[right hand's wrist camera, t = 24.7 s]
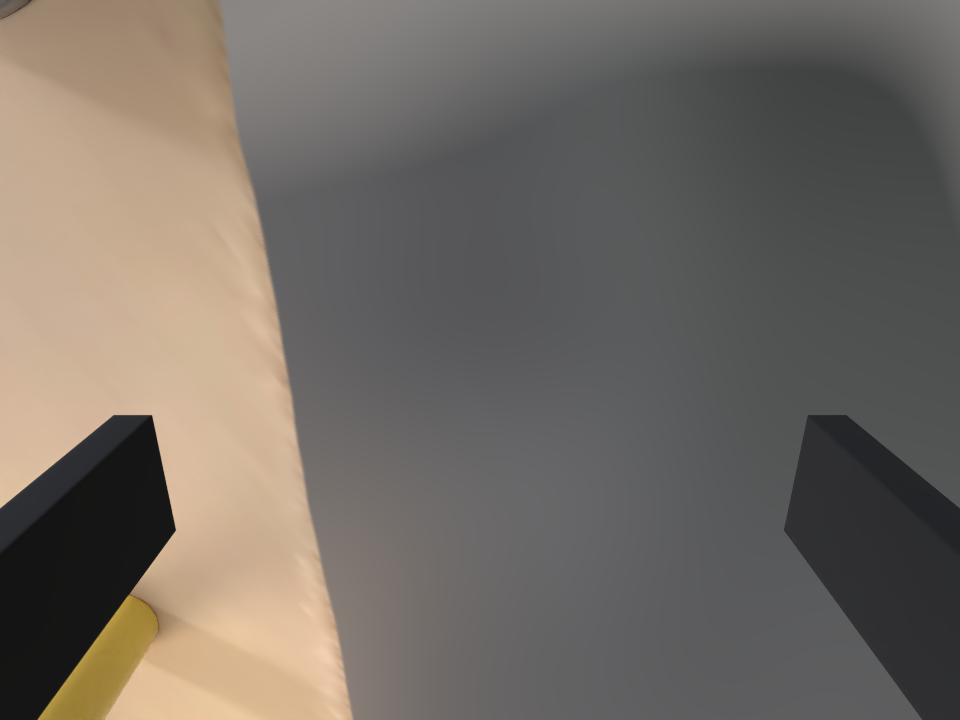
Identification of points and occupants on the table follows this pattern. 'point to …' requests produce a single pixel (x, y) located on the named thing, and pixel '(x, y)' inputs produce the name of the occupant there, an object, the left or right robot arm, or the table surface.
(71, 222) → the table surface
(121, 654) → the cylinder
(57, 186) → the table surface
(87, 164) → the table surface
